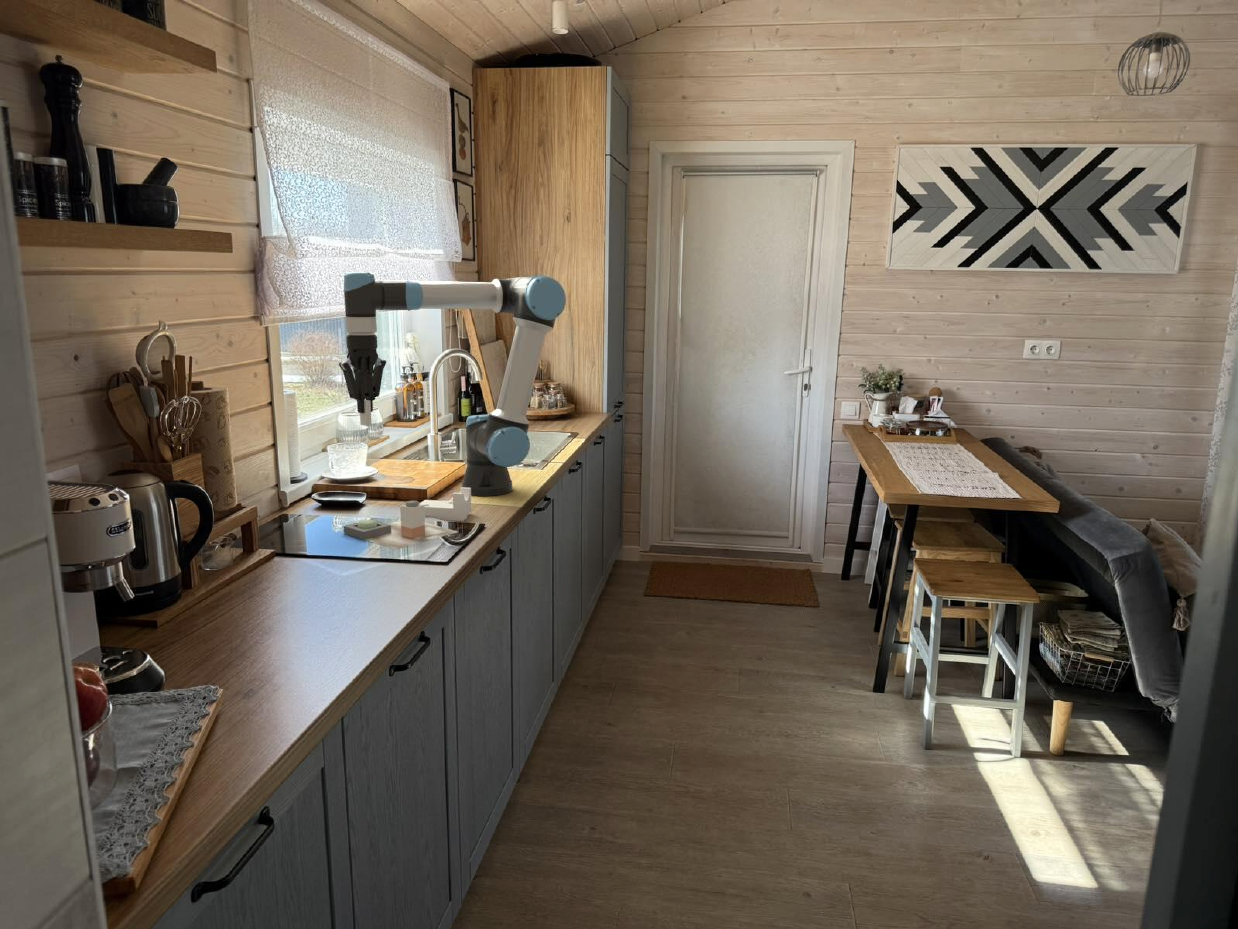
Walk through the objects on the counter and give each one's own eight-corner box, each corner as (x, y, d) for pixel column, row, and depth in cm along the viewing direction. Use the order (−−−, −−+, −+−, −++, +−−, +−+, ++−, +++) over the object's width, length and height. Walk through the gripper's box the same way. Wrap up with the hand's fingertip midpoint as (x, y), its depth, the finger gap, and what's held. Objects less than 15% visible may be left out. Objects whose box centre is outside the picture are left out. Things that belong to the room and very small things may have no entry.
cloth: (411, 519, 226) (410, 516, 226) (464, 534, 214) (464, 531, 213) (341, 536, 210) (340, 533, 210) (394, 554, 198) (394, 550, 197)
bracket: (471, 515, 233) (470, 487, 231) (463, 522, 226) (462, 494, 225) (425, 512, 235) (424, 485, 233) (415, 519, 228) (414, 491, 226)
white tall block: (414, 532, 212) (413, 499, 210) (425, 535, 210) (424, 502, 208) (401, 535, 209) (400, 502, 207) (412, 538, 207) (410, 505, 205)
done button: (369, 528, 214) (369, 518, 213) (380, 532, 211) (380, 522, 211) (354, 532, 211) (354, 522, 210) (365, 535, 208) (364, 525, 207)
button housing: (371, 526, 216) (371, 519, 216) (391, 532, 212) (391, 525, 211) (343, 533, 210) (343, 525, 210) (363, 540, 205) (363, 532, 205)
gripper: (374, 332, 227) (378, 420, 232) (330, 334, 218) (335, 426, 222) (391, 333, 223) (395, 423, 228) (348, 335, 213) (352, 429, 218)
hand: (366, 425), depth 225 cm, fingers closed
